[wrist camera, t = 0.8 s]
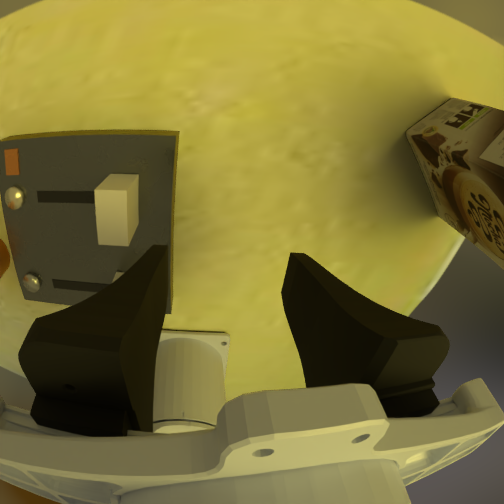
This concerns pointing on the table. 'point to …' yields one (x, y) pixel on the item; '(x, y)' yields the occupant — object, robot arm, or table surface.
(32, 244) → the breaker panel
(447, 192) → the coffee box
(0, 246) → the cap
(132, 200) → the block
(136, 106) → the table surface
